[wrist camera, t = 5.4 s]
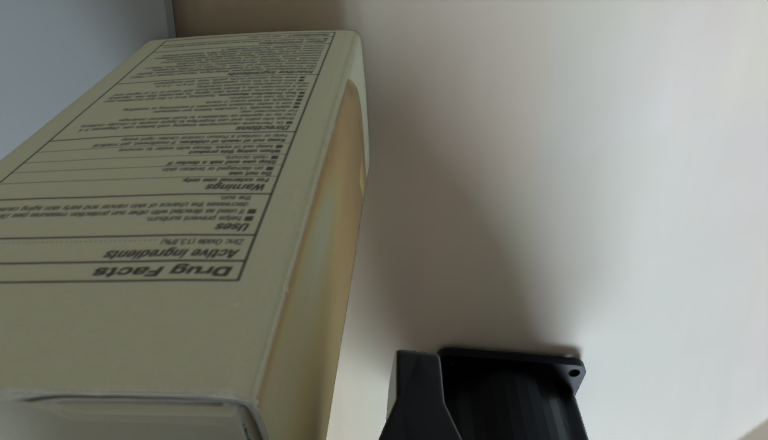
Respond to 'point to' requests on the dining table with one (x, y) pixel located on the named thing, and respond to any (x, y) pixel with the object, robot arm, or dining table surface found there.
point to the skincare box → (186, 244)
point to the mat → (66, 54)
